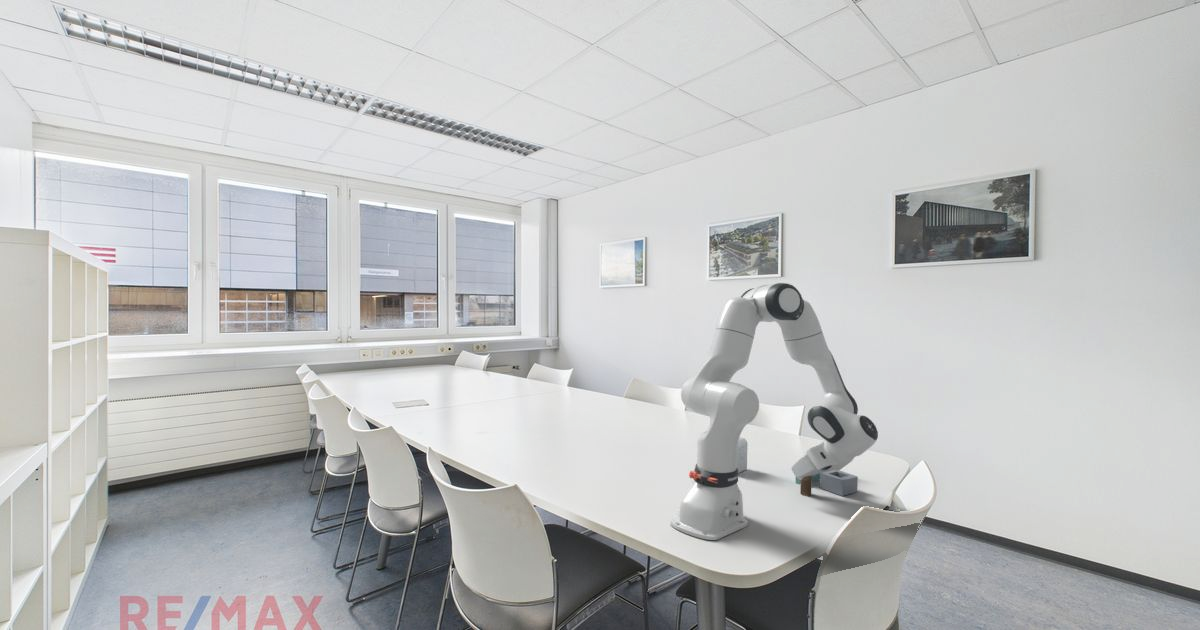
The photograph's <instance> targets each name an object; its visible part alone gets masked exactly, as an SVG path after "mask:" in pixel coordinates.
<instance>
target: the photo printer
mask: <svg viewBox="0 0 1200 630" xmlns="http://www.w3.org/2000/svg"><path fill="white" fill-rule="evenodd" d="M737 468H738V473H742V472H745V471H746V470H747V468H748V441H747V439H746V438H745V437H741V436H740V437H739V441H738V448H737Z"/></svg>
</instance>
